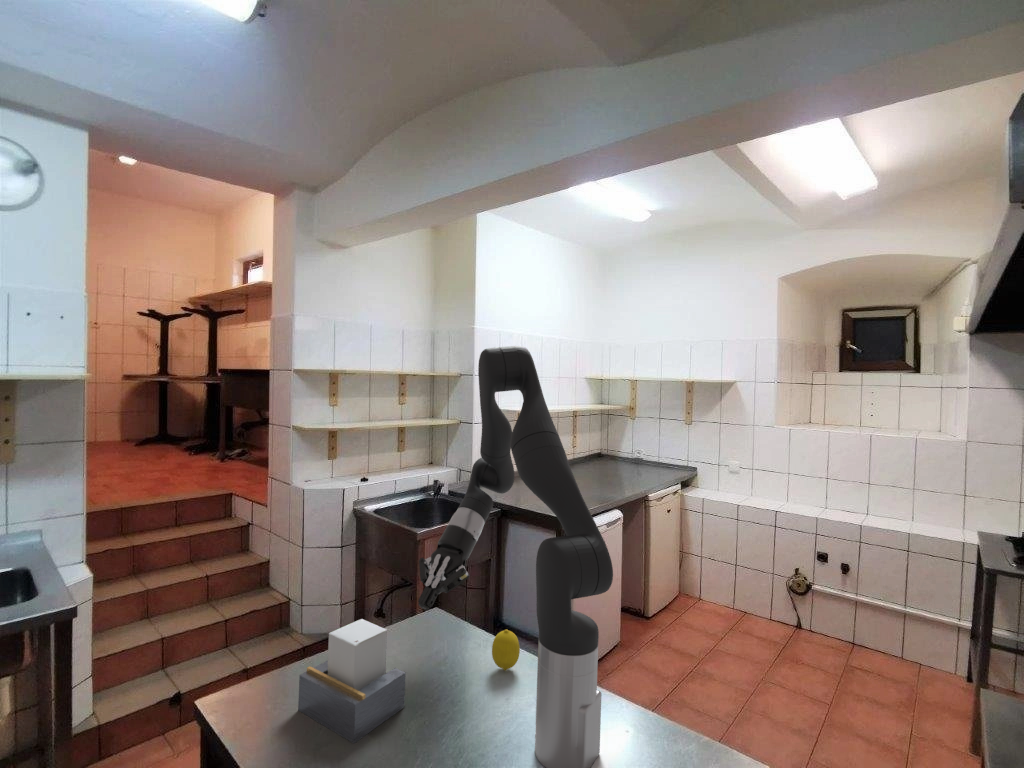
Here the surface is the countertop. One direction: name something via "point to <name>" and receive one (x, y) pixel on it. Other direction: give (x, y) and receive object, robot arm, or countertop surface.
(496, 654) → the lemon
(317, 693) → the cradle
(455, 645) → the countertop surface
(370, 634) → the supplement box
